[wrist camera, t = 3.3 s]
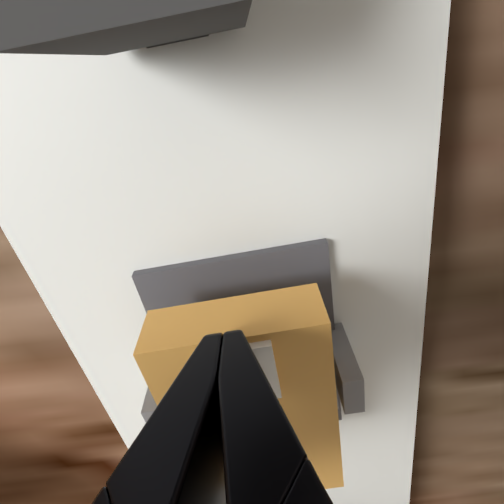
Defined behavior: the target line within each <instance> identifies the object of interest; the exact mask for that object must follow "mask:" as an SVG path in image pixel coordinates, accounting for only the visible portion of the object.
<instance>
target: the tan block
mask: <svg viewBox="0 0 504 504" xmlns="http://www.w3.org/2000/svg"><path fill="white" fill-rule="evenodd" d="M233 330H242V331H243V333H244V335H245V337H246V339H247V341H248V343H249V345H250V347H251V348H252V350H253V352H254V354H255V356H256V358H257V360H258V362H259V364H260V366H261V368H262V370H263V372H264V373H265V375H266V377H267V379H268V381H269V383H270V385H271V387H272V389H273V391H274V393H275V395H276V397H277V398H278V400H279V402H280V404H281V406H282V408H283V410H284V412H285V414H286V416H287V418H288V420H289V422H290V423H291V425H292V427H293V429H294V431H295V433H296V435H297V437H298V439H299V441H300V443H301V445H302V447H303V448H304V450H305V452H306V454H307V457H308V460H310V461H311V463H312V465H313V467H314V469H315V471H316V473H317V475H318V477H319V479H320V481H321V483H322V484H323V486H324V488H325V489H330V488H337V487H344V480H343V468H342V455H341V443H340V430H339V418H338V409H339V406H338V399H337V393H336V381H335V368H334V356H333V343H332V331H331V322H330V319H329V316H328V314H327V311H326V308H325V305H324V302H323V299H322V296H321V294H320V291H319V288H318V285H317V283H312V284H306V285H300V286H294V287H288V288H282V289H276V290H270V291H264V292H257V293H251V294H245V295H239V296H233V297H227V298H221V299H215V300H209V301H203V302H197V303H191V304H185V305H179V306H173V307H167V308H160V309H154V310H148V311H147V314H146V317H145V320H144V323H143V326H142V329H141V332H140V335H139V338H138V341H137V344H136V347H135V350H134V353H133V356H134V358H135V360H136V363H137V365H138V367H139V369H140V371H141V373H142V375H143V377H144V379H145V381H146V384H147V386H148V388H149V390H150V392H151V394H152V396H153V398H154V400H155V402H156V405H157V406H158V404H159V403H160V401H161V400H162V398H163V397H164V395H165V394H166V392H167V391H168V389H169V388H170V386H171V385H172V383H173V382H174V380H175V379H176V377H177V376H178V374H179V373H180V371H181V370H182V368H183V367H184V365H185V364H186V362H187V361H188V359H189V358H190V356H191V355H192V353H193V352H194V350H195V349H196V347H197V346H198V344H199V343H200V341H201V340H202V338H203V337H204V336H205V335H208V334H214V333H222V334H224V333H225V332H227V331H233Z"/></svg>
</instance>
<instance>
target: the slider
mask: <svg viewBox="0 0 504 504" xmlns="http://www.w3.org/2000/svg"><path fill="white" fill-rule="evenodd" d="M251 4H252V0H0V53H10V54H60V55H110V54H115V53H120V52H125V51H130V50H135V49H140V48H144V47H149V46H154V45H159V44H164V43H169V42H174V41H179V40H184V39H189V38H194V37H199V36H203V35H208V34H213V33H218V32H223V31H228V30H233V29H238V28H243V27H245V26H246V22H247V18H248V15H249V11H250V7H251Z"/></svg>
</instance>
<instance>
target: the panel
mask: <svg viewBox="0 0 504 504" xmlns="http://www.w3.org/2000/svg"><path fill="white" fill-rule="evenodd" d="M450 6H451V0H252V4H251V7H250V11H249V15H248V18H247V22H246V26H245V27H243V28H238V29H233V30H228V31H223V32H218V33H213V34H208V35H203V36H199V37H194V38H189V39H184V40H179V41H174V42H169V43H164V44H159V45H154V46H149V47H144V48H140V49H135V50H130V51H125V52H120V53H115V54H110V55H60V54H10V53H0V226H1V228H2V230H3V232H4V233H5V235H6V237H7V238H8V240H9V242H10V244H11V245H12V247H13V249H14V251H15V252H16V254H17V256H18V258H19V259H20V261H21V263H22V265H23V266H24V268H25V270H26V272H27V273H28V275H29V277H30V279H31V280H32V282H33V284H34V286H35V287H36V289H37V291H38V293H39V294H40V296H41V298H42V299H43V301H44V303H45V305H46V306H47V308H48V310H49V312H50V313H51V315H52V317H53V319H54V320H55V322H56V324H57V326H58V327H59V329H60V331H61V333H62V334H63V336H64V338H65V340H66V341H67V343H68V345H69V347H70V348H71V350H72V352H73V353H74V355H75V357H76V359H77V360H78V362H79V364H80V366H81V367H82V369H83V371H84V373H85V374H86V376H87V378H88V380H89V381H90V383H91V385H92V387H93V388H94V390H95V392H96V394H97V395H98V397H99V399H100V401H101V402H102V404H103V406H104V407H105V409H106V411H107V413H108V414H109V416H110V418H111V420H112V421H113V423H114V425H115V427H116V428H117V430H118V432H119V434H120V435H121V437H122V439H123V441H124V442H125V444H126V446H127V448H128V449H129V448H130V446H131V445H132V443H133V442H134V440H135V439H136V437H137V436H138V434H139V433H140V431H141V430H142V428H143V427H144V425H145V424H146V422H147V421H148V419H149V418H150V416H151V415H152V413H153V412H154V410H155V409H156V407H157V405H156V402H155V400H154V398H153V396H152V394H151V392H150V390H149V388H148V386H147V384H146V381H145V379H144V377H143V375H142V373H141V371H140V369H139V367H138V365H137V363H136V360H135V358H134V356H133V353H134V350H135V347H136V344H137V341H138V338H139V335H140V332H141V329H142V326H143V323H144V320H145V317H146V314H147V311H148V310H154V309H160V308H167V307H173V306H179V305H185V304H191V303H197V302H203V301H209V300H215V299H221V298H227V297H233V296H239V295H245V294H251V293H257V292H264V291H270V290H276V289H282V288H288V287H294V286H300V285H306V284H312V283H317V285H318V288H319V291H320V294H321V296H322V299H323V302H324V305H325V308H326V311H327V314H328V316H329V319H330V322H331V331H332V343H333V356H334V368H335V381H336V393H337V399H338V406H339V409H338V418H339V430H340V443H341V455H342V468H343V480H344V487H337V488H330V489H325V490H326V491H327V493H328V495H329V497H330V499H331V500H332V502H333V504H409V501H410V489H411V477H412V465H413V453H414V441H415V429H416V417H417V405H418V393H419V381H420V369H421V356H422V344H423V332H424V320H425V308H426V296H427V284H428V272H429V260H430V248H431V236H432V223H433V211H434V199H435V187H436V175H437V163H438V151H439V139H440V127H441V115H442V103H443V91H444V78H445V66H446V54H447V42H448V30H449V18H450Z"/></svg>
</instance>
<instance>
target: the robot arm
mask: <svg viewBox="0 0 504 504" xmlns="http://www.w3.org/2000/svg"><path fill="white" fill-rule="evenodd" d="M106 486H107V487H103V488H102V489H101V491H100V492H99V494H98V495H97V497H96V498H95V500H94V501H93V503H92V504H333V502H332V500H331V499H330V497H329V495H328V493H327V491H326V490H325V488H324V486H323V484H322V483H321V481H320V479H319V477H318V475H317V473H316V471H315V469H314V467H313V465H312V463H311V461H310V460H308V457H307V454H306V452H305V450H304V448H303V447H302V445H301V443H300V441H299V439H298V437H297V435H296V433H295V431H294V429H293V427H292V425H291V423H290V422H289V420H288V418H287V416H286V414H285V412H284V410H283V408H282V406H281V404H280V402H279V400H278V398H277V397H276V395H275V393H274V391H273V389H272V387H271V385H270V383H269V381H268V379H267V377H266V375H265V373H264V372H263V370H262V368H261V366H260V364H259V362H258V360H257V358H256V356H255V354H254V352H253V350H252V348H251V347H250V345H249V343H248V341H247V339H246V337H245V335H244V333H243V331H242V330H233V331H227V332H225V333H224V334H222V333H214V334H208V335H205V336H204V337H203V338H202V340H201V341H200V343H199V344H198V346H197V347H196V349H195V350H194V352H193V353H192V355H191V356H190V358H189V359H188V361H187V362H186V364H185V365H184V367H183V368H182V370H181V371H180V373H179V374H178V376H177V377H176V379H175V380H174V382H173V383H172V385H171V386H170V388H169V389H168V391H167V392H166V394H165V395H164V397H163V398H162V400H161V401H160V403H159V404H158V406H157V407H156V409H155V410H154V412H153V413H152V415H151V416H150V418H149V419H148V421H147V422H146V424H145V425H144V427H143V428H142V430H141V431H140V433H139V434H138V436H137V437H136V439H135V440H134V442H133V443H132V445H131V446H130V448H129V449H128V451H127V452H126V454H125V455H124V457H123V458H122V460H121V461H120V463H119V464H118V466H117V467H116V469H115V470H114V472H113V473H112V475H111V476H110V478H109V479H108V481H107V482H106Z"/></svg>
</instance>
